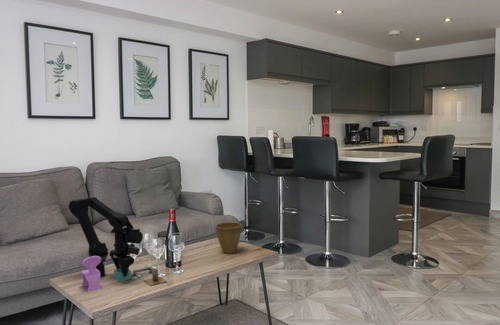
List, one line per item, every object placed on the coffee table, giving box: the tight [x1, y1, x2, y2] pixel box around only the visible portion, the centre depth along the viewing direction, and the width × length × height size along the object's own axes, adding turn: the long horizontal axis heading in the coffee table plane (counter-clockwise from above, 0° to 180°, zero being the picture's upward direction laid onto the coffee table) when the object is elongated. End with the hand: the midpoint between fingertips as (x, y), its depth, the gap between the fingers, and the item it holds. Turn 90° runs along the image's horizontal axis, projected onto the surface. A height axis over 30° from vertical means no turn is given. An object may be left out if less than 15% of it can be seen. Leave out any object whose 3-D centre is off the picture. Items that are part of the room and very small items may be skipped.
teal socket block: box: [113, 268, 132, 283], centre depth 195 cm, size 6×6×4 cm
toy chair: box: [80, 256, 103, 293], centre depth 184 cm, size 8×9×15 cm
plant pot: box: [215, 221, 242, 254], centre depth 236 cm, size 15×15×16 cm
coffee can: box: [156, 230, 168, 261], centre depth 227 cm, size 10×10×14 cm
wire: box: [132, 266, 155, 277], centre depth 198 cm, size 9×7×2 cm
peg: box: [143, 268, 168, 287], centre depth 190 cm, size 8×8×6 cm
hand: (122, 274), depth 195 cm, fingers open, 9 cm apart
